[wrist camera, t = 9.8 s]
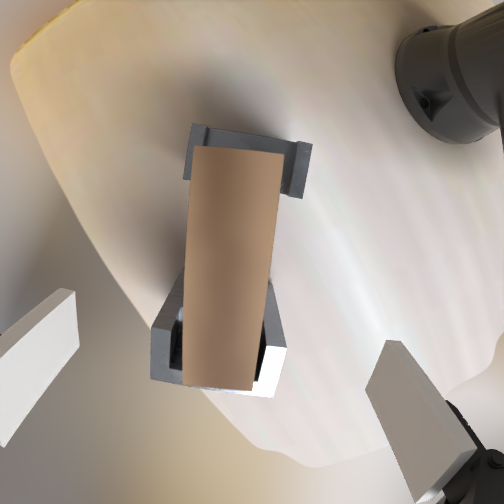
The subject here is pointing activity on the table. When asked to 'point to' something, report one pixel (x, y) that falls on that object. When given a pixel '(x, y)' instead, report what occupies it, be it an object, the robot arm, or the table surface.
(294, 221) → the table surface
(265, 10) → the table surface
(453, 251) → the table surface
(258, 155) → the walnut rail
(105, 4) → the table surface
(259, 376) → the cup bracket stand
